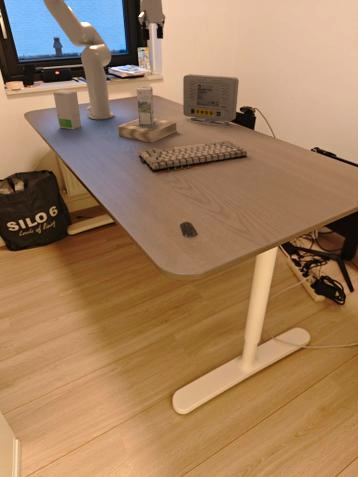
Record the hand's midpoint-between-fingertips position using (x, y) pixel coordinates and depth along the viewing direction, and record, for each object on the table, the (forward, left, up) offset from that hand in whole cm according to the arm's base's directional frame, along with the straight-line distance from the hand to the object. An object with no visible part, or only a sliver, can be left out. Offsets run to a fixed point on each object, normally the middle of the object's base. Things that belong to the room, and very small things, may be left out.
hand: (153, 39), depth 146 cm
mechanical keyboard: (+42, -34, -35) cm, 64 cm away
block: (+67, -77, -35) cm, 108 cm away
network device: (+23, +10, -35) cm, 43 cm away
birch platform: (+10, -20, -34) cm, 41 cm away
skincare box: (-27, -31, -34) cm, 54 cm away
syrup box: (+10, -20, -30) cm, 38 cm away
